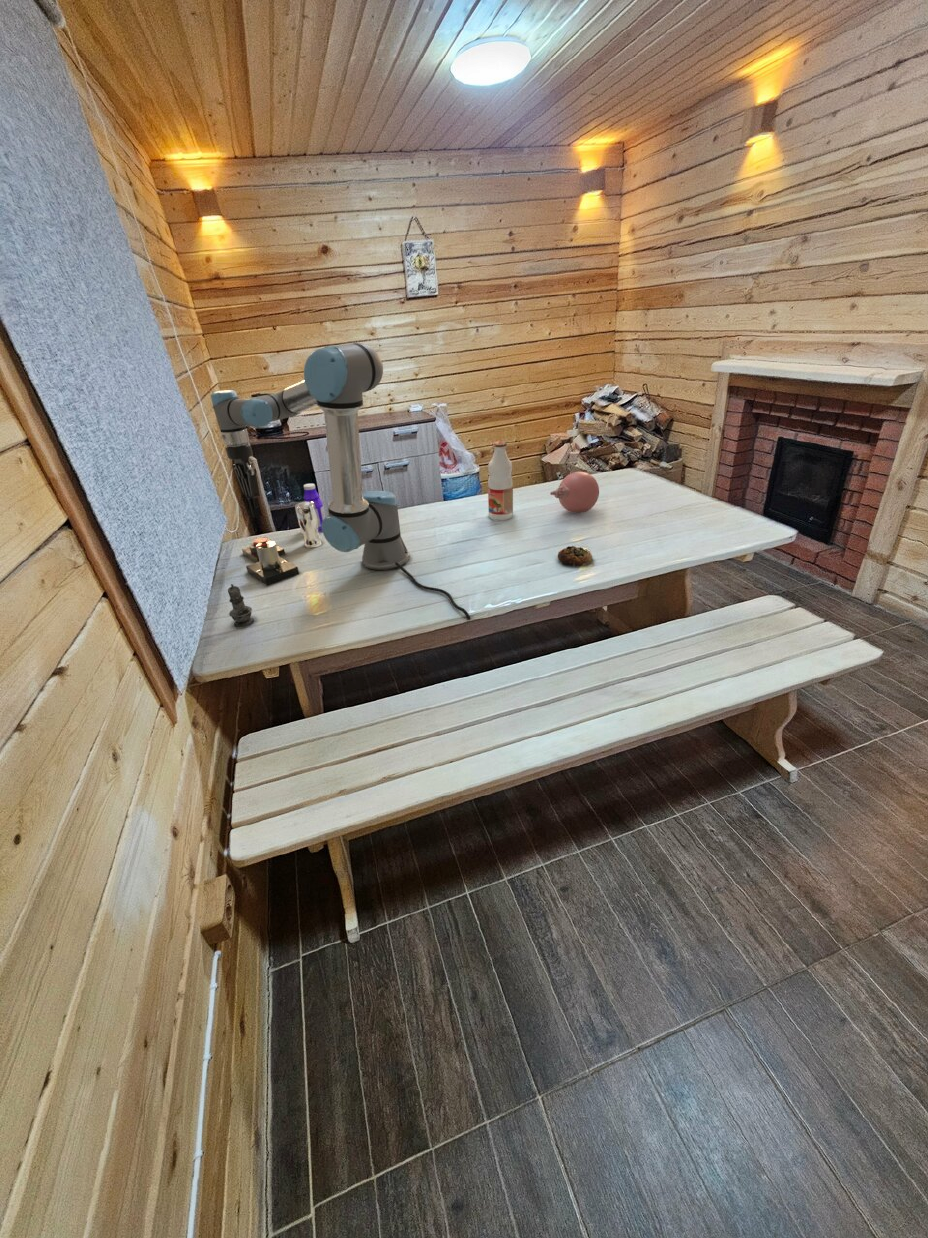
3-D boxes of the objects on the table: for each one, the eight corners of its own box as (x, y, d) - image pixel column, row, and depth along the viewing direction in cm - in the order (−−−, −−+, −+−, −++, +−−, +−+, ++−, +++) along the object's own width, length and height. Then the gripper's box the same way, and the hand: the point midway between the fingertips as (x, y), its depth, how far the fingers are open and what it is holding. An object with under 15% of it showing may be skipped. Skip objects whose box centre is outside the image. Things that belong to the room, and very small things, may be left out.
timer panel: (299, 573, 167) (297, 566, 166) (267, 585, 161) (265, 578, 160) (278, 561, 176) (277, 554, 175) (247, 572, 170) (245, 565, 168)
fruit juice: (515, 519, 199) (515, 444, 184) (491, 521, 198) (489, 446, 183) (509, 511, 207) (509, 438, 192) (486, 513, 206) (484, 440, 191)
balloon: (539, 510, 205) (540, 472, 197) (584, 502, 210) (586, 464, 202) (558, 523, 193) (560, 482, 185) (605, 514, 198) (609, 474, 190)
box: (285, 554, 181) (282, 543, 179) (258, 563, 176) (255, 552, 173) (269, 545, 189) (267, 535, 187) (243, 554, 183) (240, 543, 181)
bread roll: (553, 564, 163) (555, 549, 161) (560, 555, 172) (562, 540, 170) (589, 570, 159) (592, 554, 157) (594, 559, 169) (596, 544, 167)
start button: (271, 544, 180) (270, 539, 179) (258, 548, 177) (256, 543, 176) (265, 540, 183) (263, 535, 182) (251, 545, 180) (250, 540, 179)
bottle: (330, 527, 201) (321, 482, 192) (322, 532, 197) (313, 487, 188) (314, 525, 204) (304, 482, 195) (305, 531, 199) (296, 486, 190)
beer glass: (318, 548, 184) (309, 508, 176) (300, 548, 185) (290, 507, 177) (326, 540, 190) (318, 501, 182) (308, 540, 191) (299, 500, 183)
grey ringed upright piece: (236, 617, 145) (223, 579, 139) (257, 616, 145) (246, 577, 139) (230, 629, 140) (216, 590, 134) (252, 627, 140) (239, 588, 134)
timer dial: (276, 560, 171) (270, 538, 167) (284, 565, 167) (278, 543, 163) (258, 566, 168) (252, 544, 164) (266, 572, 164) (259, 549, 160)
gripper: (217, 444, 165) (238, 515, 177) (234, 449, 156) (255, 523, 168) (240, 439, 169) (259, 509, 181) (257, 444, 161) (276, 517, 173)
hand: (257, 516), depth 175 cm, fingers closed
